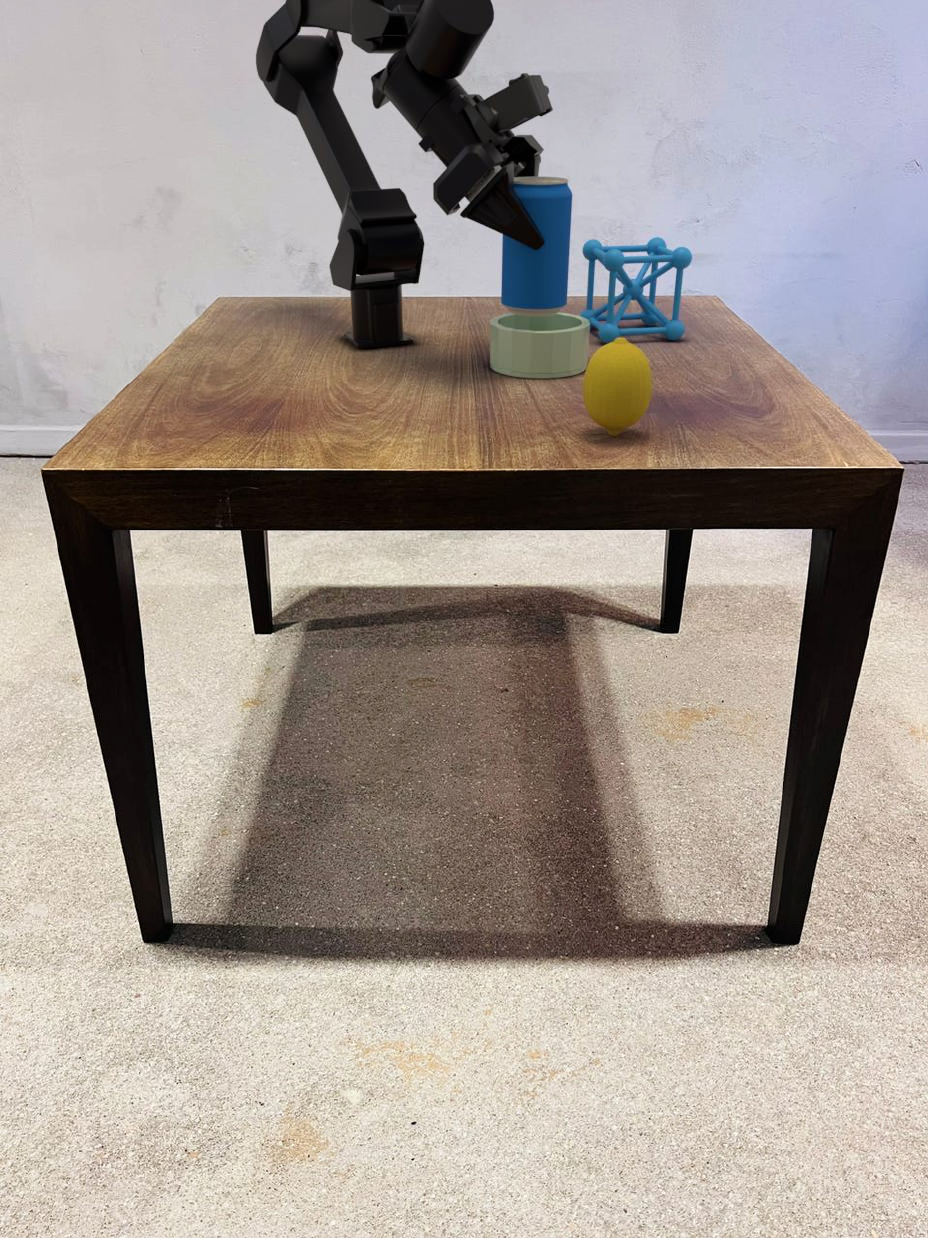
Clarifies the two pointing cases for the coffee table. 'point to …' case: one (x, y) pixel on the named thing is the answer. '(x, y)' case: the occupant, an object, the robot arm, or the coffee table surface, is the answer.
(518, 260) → the beverage can
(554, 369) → the collar
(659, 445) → the coffee table surface
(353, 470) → the coffee table surface
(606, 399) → the lemon
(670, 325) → the molecular structure
